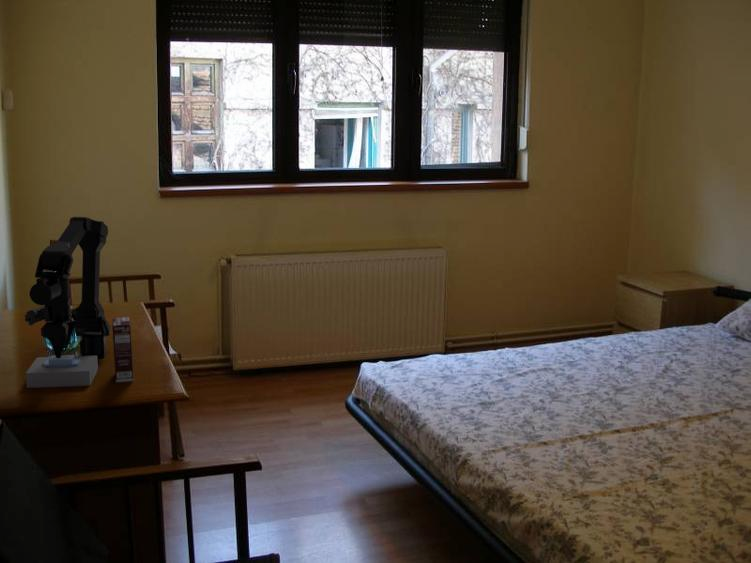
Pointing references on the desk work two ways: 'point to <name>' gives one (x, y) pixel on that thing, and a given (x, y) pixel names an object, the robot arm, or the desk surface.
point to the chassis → (62, 373)
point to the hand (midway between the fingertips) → (61, 353)
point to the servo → (62, 361)
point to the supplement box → (122, 349)
